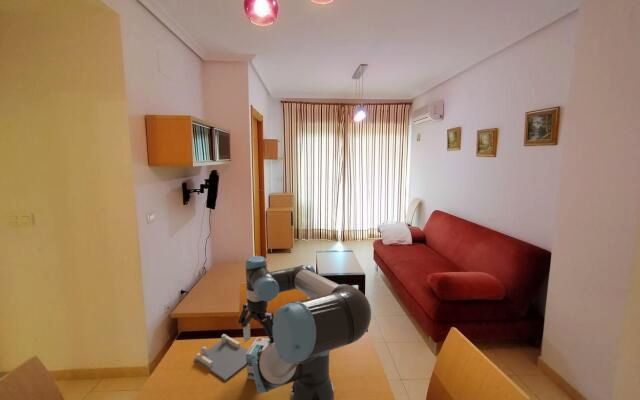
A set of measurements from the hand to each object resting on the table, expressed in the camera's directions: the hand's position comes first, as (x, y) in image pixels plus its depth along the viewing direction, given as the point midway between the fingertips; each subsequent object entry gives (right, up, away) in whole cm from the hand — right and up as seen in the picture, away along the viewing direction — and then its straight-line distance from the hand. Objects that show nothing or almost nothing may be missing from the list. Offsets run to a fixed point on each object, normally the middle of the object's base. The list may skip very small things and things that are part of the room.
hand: (259, 347), depth 116 cm
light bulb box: (0, -10, +2) cm, 10 cm away
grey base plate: (-15, -9, +8) cm, 19 cm away
